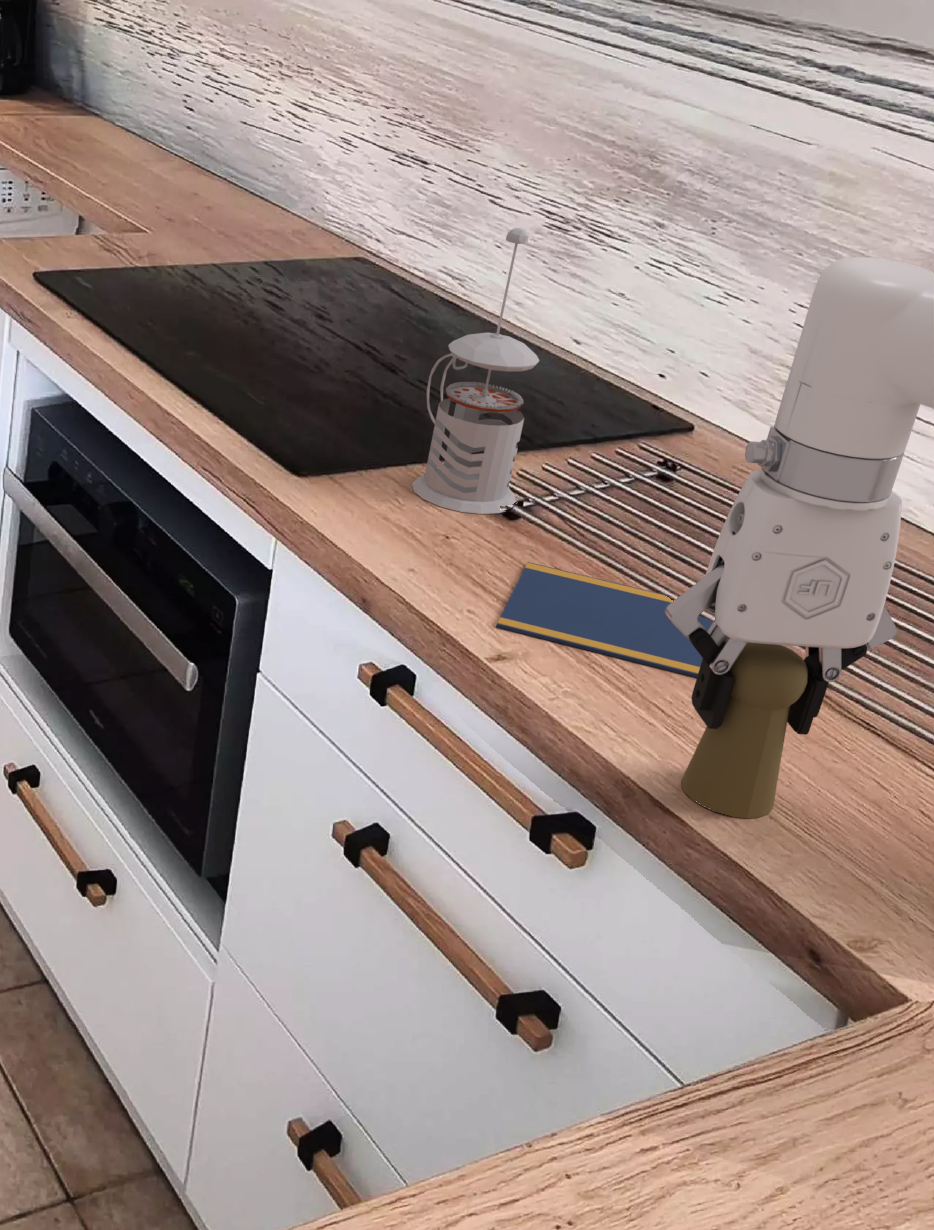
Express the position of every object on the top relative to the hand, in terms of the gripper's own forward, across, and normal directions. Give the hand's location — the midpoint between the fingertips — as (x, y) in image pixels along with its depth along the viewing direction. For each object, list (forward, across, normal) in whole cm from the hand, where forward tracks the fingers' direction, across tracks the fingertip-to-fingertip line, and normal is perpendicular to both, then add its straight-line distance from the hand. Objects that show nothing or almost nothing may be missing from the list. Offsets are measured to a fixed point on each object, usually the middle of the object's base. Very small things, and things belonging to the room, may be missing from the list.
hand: (750, 718), depth 114 cm
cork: (+6, 0, 0) cm, 6 cm away
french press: (+6, -6, +53) cm, 53 cm away
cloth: (+6, +1, +26) cm, 27 cm away
